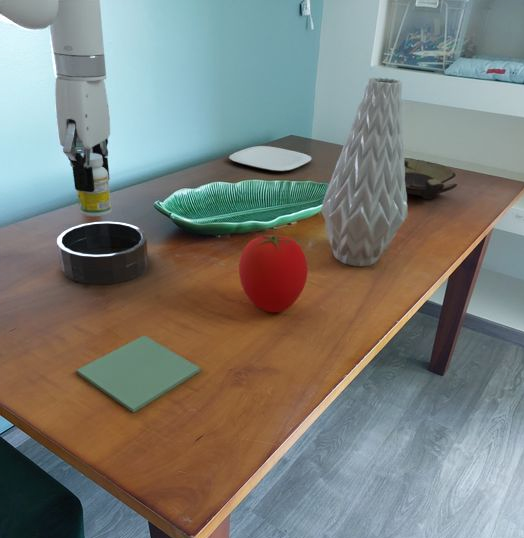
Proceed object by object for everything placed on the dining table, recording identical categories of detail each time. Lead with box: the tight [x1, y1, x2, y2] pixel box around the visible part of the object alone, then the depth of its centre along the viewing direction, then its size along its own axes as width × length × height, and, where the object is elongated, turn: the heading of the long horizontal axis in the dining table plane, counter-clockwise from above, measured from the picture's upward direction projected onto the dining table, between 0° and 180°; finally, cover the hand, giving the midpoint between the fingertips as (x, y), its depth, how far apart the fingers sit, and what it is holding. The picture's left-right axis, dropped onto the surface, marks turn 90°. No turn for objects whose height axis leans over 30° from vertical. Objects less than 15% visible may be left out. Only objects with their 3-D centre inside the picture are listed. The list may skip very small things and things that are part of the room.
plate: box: [228, 145, 312, 172], centre depth 161 cm, size 22×22×2 cm
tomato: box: [238, 232, 308, 313], centre depth 87 cm, size 11×11×13 cm
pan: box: [56, 221, 149, 286], centre depth 99 cm, size 16×16×6 cm
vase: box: [320, 77, 409, 268], centre depth 100 cm, size 17×17×33 cm
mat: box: [76, 335, 201, 413], centre depth 74 cm, size 12×12×1 cm
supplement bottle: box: [76, 152, 112, 218], centre depth 91 cm, size 5×5×10 cm
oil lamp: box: [404, 157, 458, 200], centre depth 143 cm, size 22×30×8 cm
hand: (92, 184), depth 91 cm, fingers closed on supplement bottle, 5 cm apart
